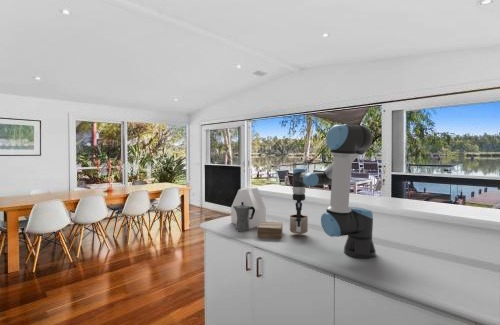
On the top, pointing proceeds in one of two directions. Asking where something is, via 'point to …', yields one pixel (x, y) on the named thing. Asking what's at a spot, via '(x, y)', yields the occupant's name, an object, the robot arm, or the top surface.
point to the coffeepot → (243, 216)
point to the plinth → (270, 230)
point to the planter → (303, 224)
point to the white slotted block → (253, 200)
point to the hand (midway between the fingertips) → (298, 229)
